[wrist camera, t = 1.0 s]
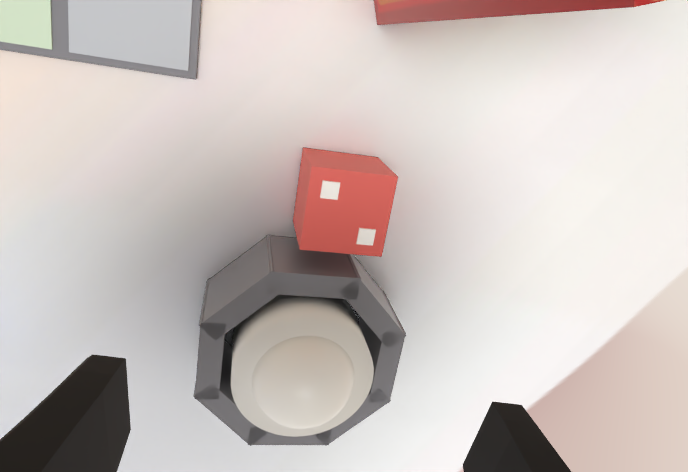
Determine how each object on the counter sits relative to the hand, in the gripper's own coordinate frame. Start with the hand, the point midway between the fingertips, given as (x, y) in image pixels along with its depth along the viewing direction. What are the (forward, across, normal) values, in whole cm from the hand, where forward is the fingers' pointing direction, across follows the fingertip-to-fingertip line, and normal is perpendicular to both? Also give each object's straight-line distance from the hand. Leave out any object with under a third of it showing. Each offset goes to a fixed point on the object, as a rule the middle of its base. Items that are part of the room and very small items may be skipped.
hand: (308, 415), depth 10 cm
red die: (+15, -1, +2) cm, 15 cm away
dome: (+11, 0, +9) cm, 14 cm away
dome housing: (+13, 0, +9) cm, 16 cm away
